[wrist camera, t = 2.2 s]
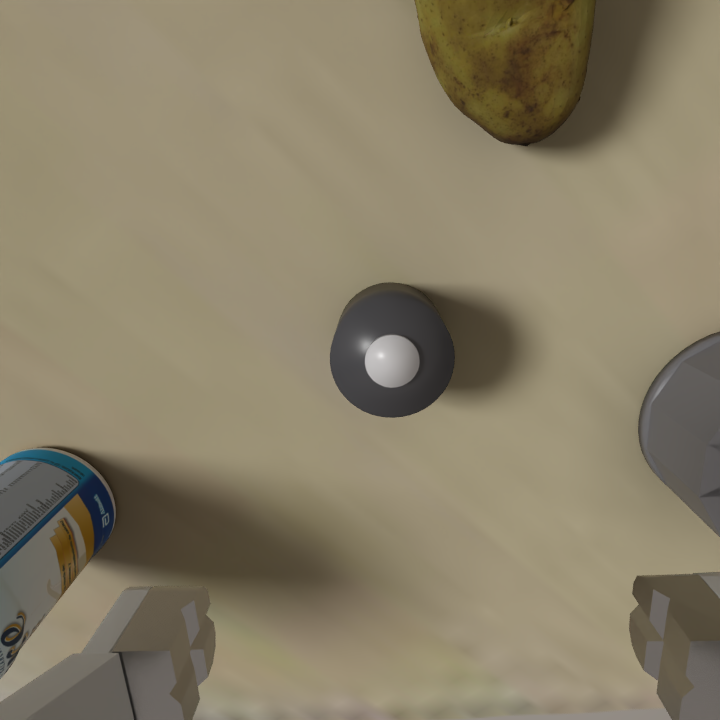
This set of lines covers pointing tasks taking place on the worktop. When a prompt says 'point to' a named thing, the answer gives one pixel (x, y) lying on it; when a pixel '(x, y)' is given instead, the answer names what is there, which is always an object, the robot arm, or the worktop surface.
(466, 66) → the potato
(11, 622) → the beverage bottle
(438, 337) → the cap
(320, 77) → the worktop surface
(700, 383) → the faceted grey cup
